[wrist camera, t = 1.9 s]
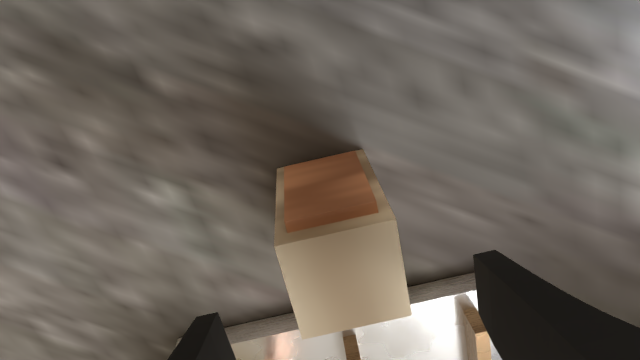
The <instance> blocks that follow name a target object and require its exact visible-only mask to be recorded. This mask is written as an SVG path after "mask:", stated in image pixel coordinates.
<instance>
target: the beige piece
mask: <svg viewBox="0 0 640 360" xmlns="http://www.w3.org/2000/svg"><path fill="white" fill-rule="evenodd" d="M407 288H408V294H409V300H410V306H411V312H412V316H408V317H403V318H399V319H394V320H390V321H385V322H380V323H376V324H371V325H367V326H362V327H358V328H353V329H349V330H344V331H340V332H335V333H331V334H326V335H322V336H317V337H313V338H308V339H303V340H302V337H301V334H300V330H299V327H298V324H297V321H296V317H295V314H294V313H289V314H285V315H280V316H276V317H271V318H267V319H262V320H258V321H253V322H249V323H244V324H240V325H235V326H231V327H226V328H224V329H225V332H226V335H227V337H228V340H229V342H230V345H231V347H232V350H233V352H234V355H235V358H236V360H502V358H501V357H500V355H499V353H498V352H497V350H496V348H495V347H494V345H493V343H492V341H491V339H490V337H489V335H488V333H487V331H486V328H485V326H484V324H483V322H482V320H481V318H480V315H479V313H478V304H477V293H476V281H475V272H474V273H469V274H465V275H460V276H456V277H451V278H447V279H442V280H438V281H433V282H429V283H424V284H420V285H415V286H411V287H407ZM181 339H182V337H181V338H178V340H177V343H176V346H177V345H178V343H179V342H180V340H181ZM176 346H175V348H176Z"/></svg>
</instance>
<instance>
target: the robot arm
mask: <svg viewBox="0 0 640 360" xmlns="http://www.w3.org/2000/svg"><path fill="white" fill-rule="evenodd" d="M473 258H474V270H475V281H476V293H477V304H478V313H479V315H480V318H481V320H482V322H483V324H484V326H485V328H486V331H487V333H488V335H489V337H490V339H491V341H492V343H493V345H494V347H495V348H496V350H497V352H498V353H499V355H500V357H501V358H502V360H640V328H638V327H636V326H634V325H632V324H629V323H627V322H625V321H622V320H620V319H618V318H615V317H613V316H611V315H609V314H607V313H605V312H602V311H600V310H598V309H596V308H594V307H592V306H590V305H588V304H586V303H585V302H583V301H581V300H579V299H577V298H575V297H573V296H571V295H569V294H567V293H566V292H564V291H562V290H560V289H558V288H557V287H555V286H553V285H551V284H550V283H548V282H546V281H545V280H543V279H541V278H540V277H538V276H536V275H535V274H533V273H531V272H530V271H528V270H527V269H525V268H523V267H522V266H520V265H519V264H517V263H515V262H514V261H512V260H511V259H509V258H507V257H506V256H504V255H503V254H501V253H499V252H498V251H496V250H493V251H488V252H484V253H479V254H475V255H473ZM168 360H236V358H235V355H234V352H233V350H232V347H231V345H230V342H229V340H228V337H227V335H226V332H225V329H224V327H223V324H222V322H221V319H220V317H219V314H218V312H216V313H212V314H207V315H203V316H199V317H196V318H195V320H194V321H193V323H192V324H191V326H190V327H189V329H188V330H187V331H186V333H185V334H184V336H183V337H182V339H181V340H180V342H179V343H178V345H177V346H176V348H175V349H174V351H173V352H172V354H171V355H170V357H169V358H168Z"/></svg>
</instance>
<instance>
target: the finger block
mask: <svg viewBox="0 0 640 360" xmlns="http://www.w3.org/2000/svg"><path fill="white" fill-rule="evenodd" d="M274 248H275V251H276V254H277V258H278V261H279V264H280V267H281V271H282V274H283V277H284V281H285V284H286V287H287V291H288V294H289V297H290V301H291V304H292V307H293V311H294V314H295V317H296V321H297V324H298V327H299V330H300V334H301V337H302V340H303V339H308V338H313V337H317V336H322V335H326V334H331V333H335V332H340V331H344V330H349V329H353V328H358V327H362V326H367V325H371V324H376V323H380V322H385V321H390V320H394V319H399V318H403V317H408V316H412V312H411V306H410V300H409V294H408V288H407V282H406V276H405V270H404V264H403V258H402V252H401V246H400V240H399V234H398V228H397V222H396V218H395V216H394V214H393V212H392V210H391V208H390V205H389V203H388V201H387V199H386V197H385V195H384V193H383V191H382V189H381V186H380V184H379V182H378V180H377V178H376V176H375V174H374V172H373V169H372V167H371V165H370V163H369V161H368V159H367V157H366V155H365V153H364V150H363V149H361V150H357V151H351V152H346V153H342V154H337V155H333V156H329V157H324V158H320V159H316V160H311V161H307V162H302V163H298V164H294V165H289V166H285V167H282V168H278V169H277V180H276V209H275V238H274Z"/></svg>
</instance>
